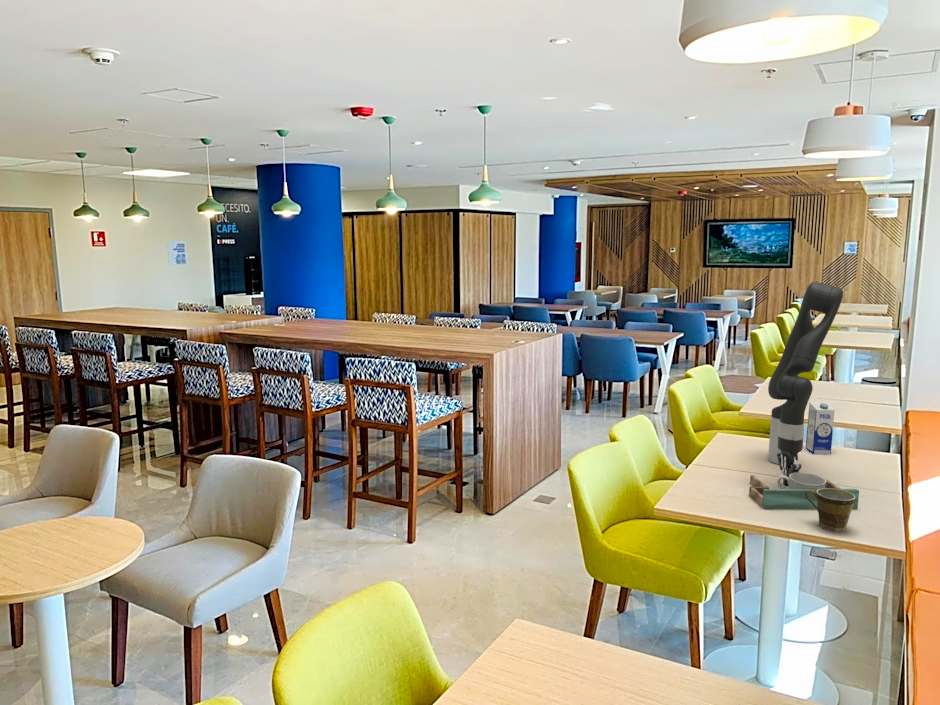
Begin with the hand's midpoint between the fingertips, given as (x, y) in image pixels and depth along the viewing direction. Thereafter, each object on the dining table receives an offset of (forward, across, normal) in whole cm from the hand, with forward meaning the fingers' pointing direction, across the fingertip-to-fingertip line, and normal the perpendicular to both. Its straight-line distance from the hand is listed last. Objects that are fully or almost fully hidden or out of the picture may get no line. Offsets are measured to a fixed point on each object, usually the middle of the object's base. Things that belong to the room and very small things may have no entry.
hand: (786, 485), depth 228 cm
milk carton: (+3, -43, +32) cm, 54 cm away
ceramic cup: (+1, +29, -2) cm, 29 cm away
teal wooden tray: (+2, +5, 0) cm, 5 cm away
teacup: (+2, +9, 0) cm, 9 cm away
